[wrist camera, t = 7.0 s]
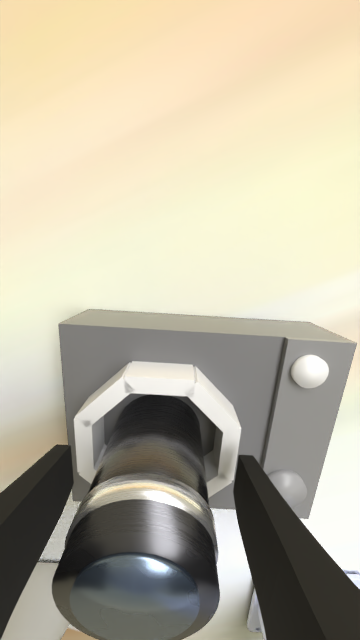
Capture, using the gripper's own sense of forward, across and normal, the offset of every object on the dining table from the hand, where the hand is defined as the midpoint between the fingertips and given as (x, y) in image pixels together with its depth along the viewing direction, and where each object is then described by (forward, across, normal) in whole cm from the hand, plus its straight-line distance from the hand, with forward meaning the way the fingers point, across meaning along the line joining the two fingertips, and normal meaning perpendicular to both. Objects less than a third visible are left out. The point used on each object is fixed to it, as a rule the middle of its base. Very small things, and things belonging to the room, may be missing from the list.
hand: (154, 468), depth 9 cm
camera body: (+6, -2, 0) cm, 6 cm away
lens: (+2, 0, 0) cm, 2 cm away
